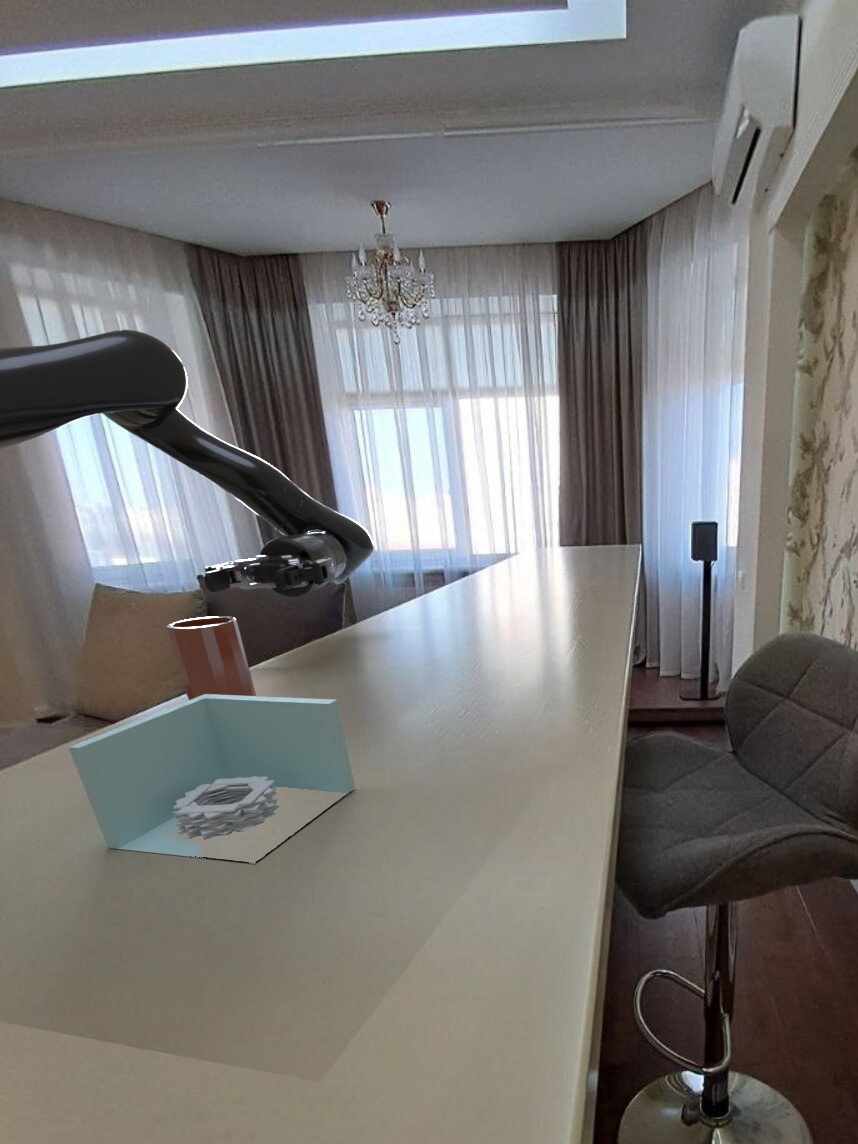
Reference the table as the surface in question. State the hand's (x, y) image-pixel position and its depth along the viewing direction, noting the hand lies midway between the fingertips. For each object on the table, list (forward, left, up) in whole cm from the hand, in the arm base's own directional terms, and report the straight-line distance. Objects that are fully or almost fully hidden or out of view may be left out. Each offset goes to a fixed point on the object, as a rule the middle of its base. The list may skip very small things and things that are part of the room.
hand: (245, 581), depth 79 cm
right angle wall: (+20, -34, -13) cm, 42 cm away
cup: (+2, -11, -13) cm, 17 cm away
